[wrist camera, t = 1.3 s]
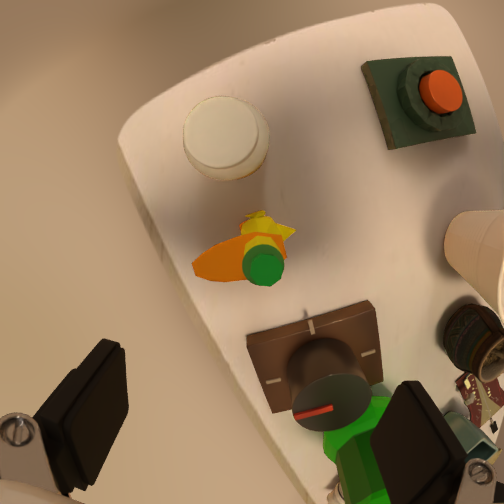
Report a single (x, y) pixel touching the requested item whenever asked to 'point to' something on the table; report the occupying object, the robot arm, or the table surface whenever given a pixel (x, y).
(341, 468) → the plastic bottle
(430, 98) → the button
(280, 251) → the toy figure
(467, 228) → the cup
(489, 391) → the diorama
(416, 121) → the button box
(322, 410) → the dial knob
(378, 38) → the table surface
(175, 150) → the table surface
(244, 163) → the supplement bottle
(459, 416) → the flower pot
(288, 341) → the brown dial base plate
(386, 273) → the table surface
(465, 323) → the yerba mate gourd
